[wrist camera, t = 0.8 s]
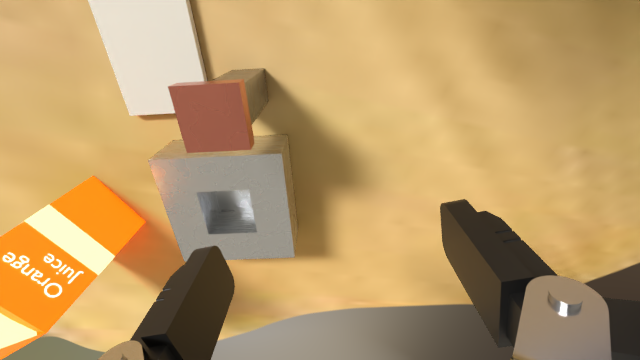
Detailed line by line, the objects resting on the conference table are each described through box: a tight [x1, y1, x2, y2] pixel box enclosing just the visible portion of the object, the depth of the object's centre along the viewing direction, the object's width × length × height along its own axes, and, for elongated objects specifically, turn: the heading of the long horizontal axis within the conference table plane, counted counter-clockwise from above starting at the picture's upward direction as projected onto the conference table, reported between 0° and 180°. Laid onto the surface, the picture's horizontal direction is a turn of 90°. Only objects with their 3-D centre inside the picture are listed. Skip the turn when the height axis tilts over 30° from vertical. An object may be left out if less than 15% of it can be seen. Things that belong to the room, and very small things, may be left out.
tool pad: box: [88, 0, 207, 116], centre depth 26 cm, size 10×8×1 cm
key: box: [168, 68, 268, 153], centre depth 23 cm, size 4×4×11 cm
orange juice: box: [0, 176, 145, 360], centre depth 26 cm, size 8×9×20 cm
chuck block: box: [148, 135, 298, 261], centre depth 31 cm, size 12×12×5 cm
